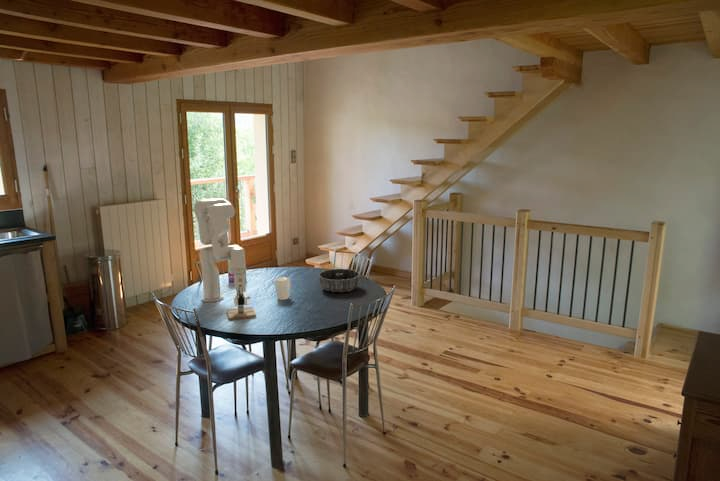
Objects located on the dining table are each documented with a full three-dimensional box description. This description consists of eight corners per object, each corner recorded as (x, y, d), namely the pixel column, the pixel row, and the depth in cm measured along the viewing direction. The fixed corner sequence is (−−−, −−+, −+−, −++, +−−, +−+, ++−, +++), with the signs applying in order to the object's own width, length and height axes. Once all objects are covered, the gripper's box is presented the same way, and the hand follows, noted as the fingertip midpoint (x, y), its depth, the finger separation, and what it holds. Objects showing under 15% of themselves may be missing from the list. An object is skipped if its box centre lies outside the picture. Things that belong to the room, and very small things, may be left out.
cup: (276, 301, 293) (275, 281, 291) (275, 296, 302) (274, 277, 299) (291, 299, 295) (290, 280, 292) (290, 295, 303) (289, 276, 301)
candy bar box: (247, 281, 334) (245, 258, 331) (243, 283, 330) (241, 259, 326) (232, 280, 337) (230, 257, 334) (228, 282, 333) (226, 258, 330)
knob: (235, 306, 264) (234, 299, 264) (233, 302, 270) (233, 295, 270) (251, 304, 267) (250, 297, 266) (249, 301, 273) (249, 294, 272)
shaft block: (226, 312, 274) (226, 301, 273) (252, 309, 279) (251, 298, 277) (229, 320, 261) (228, 308, 260) (256, 317, 266) (255, 305, 264)
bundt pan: (360, 295, 302) (359, 279, 300) (316, 295, 303) (316, 279, 301) (360, 283, 328) (360, 268, 326) (320, 283, 329) (320, 268, 327)
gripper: (247, 273, 258) (249, 306, 262) (243, 266, 274) (245, 297, 278) (232, 275, 256) (235, 308, 259) (229, 267, 272) (232, 299, 275)
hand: (240, 302), depth 268 cm, fingers closed on knob, 6 cm apart
